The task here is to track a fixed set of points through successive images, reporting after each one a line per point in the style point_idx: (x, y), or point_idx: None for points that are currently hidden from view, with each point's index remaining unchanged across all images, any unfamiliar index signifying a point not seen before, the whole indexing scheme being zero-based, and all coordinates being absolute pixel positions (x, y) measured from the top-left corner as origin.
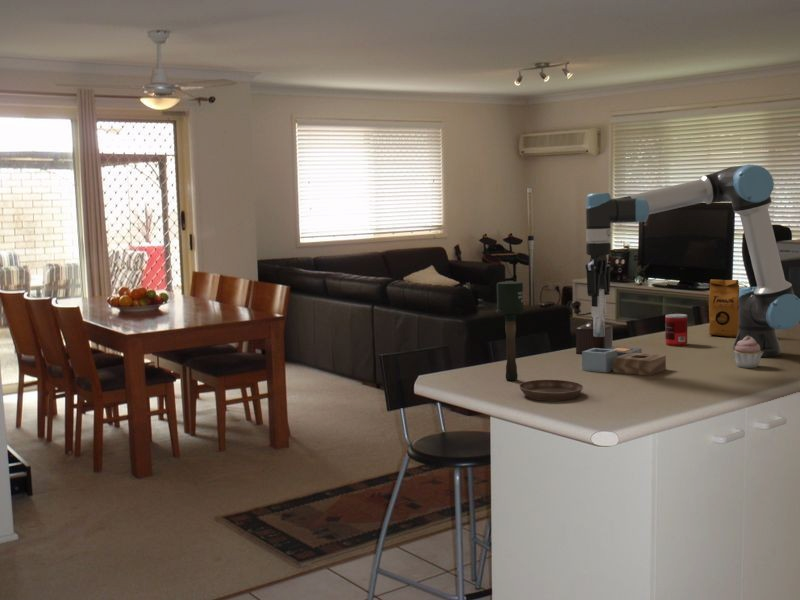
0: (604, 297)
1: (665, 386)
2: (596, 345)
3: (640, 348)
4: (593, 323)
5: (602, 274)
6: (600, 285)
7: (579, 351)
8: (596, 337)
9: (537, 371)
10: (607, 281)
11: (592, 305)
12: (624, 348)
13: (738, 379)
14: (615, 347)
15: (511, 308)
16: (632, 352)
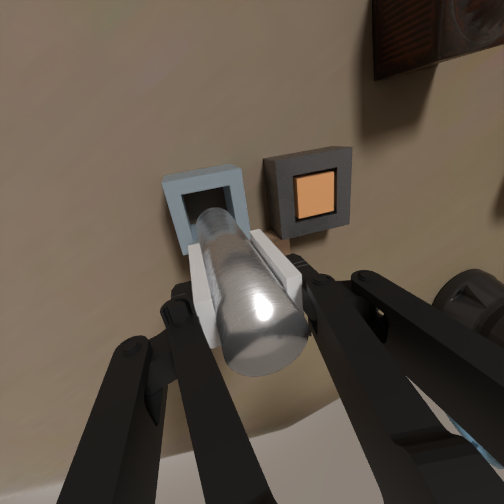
0: None
1: None
2: (393, 50)
3: (348, 221)
4: (204, 229)
5: (386, 484)
6: (329, 340)
7: None
8: (415, 41)
9: (36, 68)
10: (405, 368)
11: (173, 292)
12: (331, 194)
13: (271, 393)
14: (338, 163)
15: None
16: (301, 234)
